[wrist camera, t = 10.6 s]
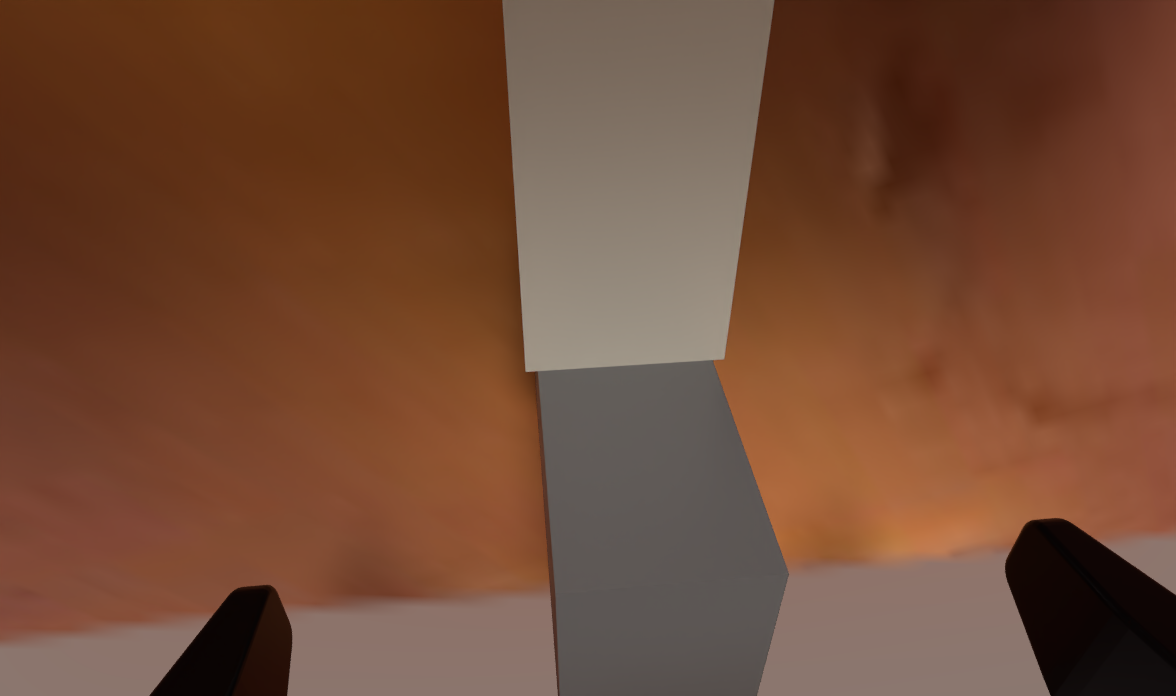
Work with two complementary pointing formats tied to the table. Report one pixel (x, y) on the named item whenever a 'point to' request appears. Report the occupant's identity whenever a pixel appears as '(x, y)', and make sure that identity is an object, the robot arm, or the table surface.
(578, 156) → the grey mallet
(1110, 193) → the table surface
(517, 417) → the table surface
